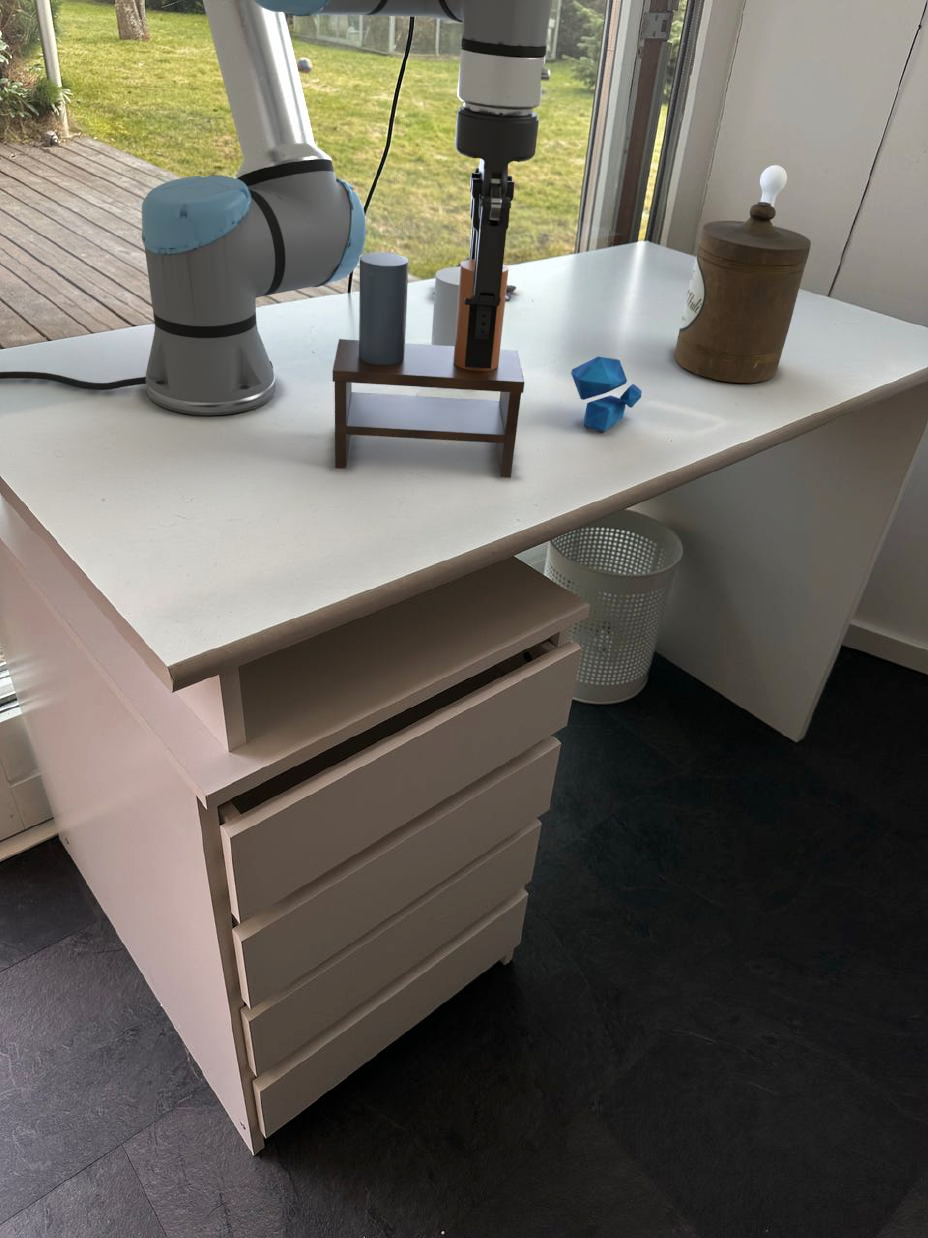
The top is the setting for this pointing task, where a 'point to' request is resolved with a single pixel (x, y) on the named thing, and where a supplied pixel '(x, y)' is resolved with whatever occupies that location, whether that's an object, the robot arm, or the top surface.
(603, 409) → the crystal
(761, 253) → the wooden container
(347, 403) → the desk shelf
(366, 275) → the slate tin
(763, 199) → the white light bulb
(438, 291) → the cup
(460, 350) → the copper tin
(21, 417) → the top surface
